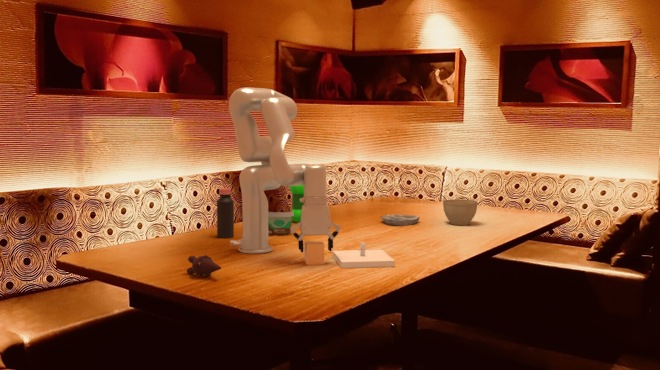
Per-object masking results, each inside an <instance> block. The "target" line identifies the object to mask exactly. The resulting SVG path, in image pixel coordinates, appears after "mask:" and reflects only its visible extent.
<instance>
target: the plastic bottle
mask: <svg viewBox="0 0 660 370" xmlns="http://www.w3.org/2000/svg"><path fill="white" fill-rule="evenodd" d="M289 192H291V204H292V205H291V210H290V212H291V211H292V210H293V213H294V216H292V221H294V223H296V222H298V223H300V222H301V210H302V206H303V205H304V203H302V202H300V198H303V197H304V185H299V186H289ZM298 223H297V224H298Z"/></svg>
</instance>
